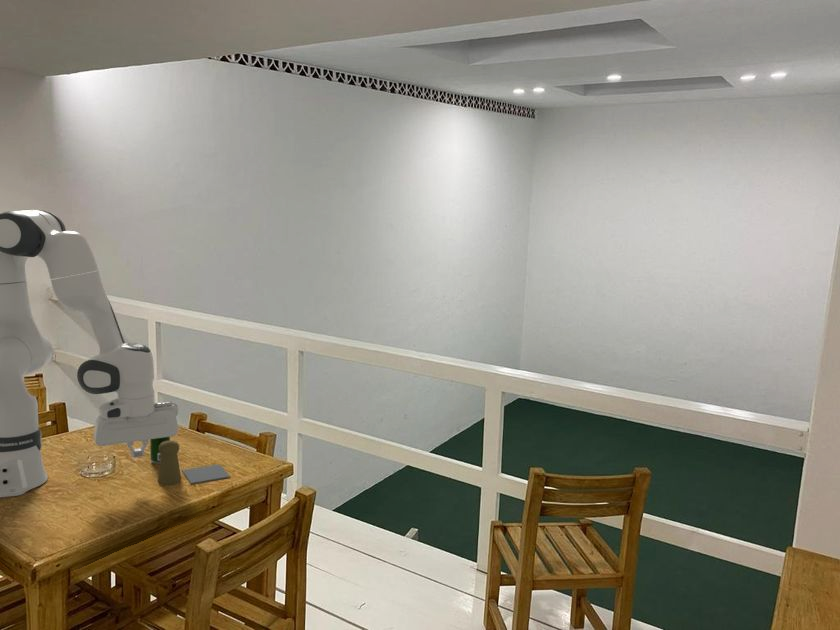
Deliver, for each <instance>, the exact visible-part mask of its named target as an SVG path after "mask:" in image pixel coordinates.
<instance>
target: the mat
mask: <svg viewBox="0 0 840 630" xmlns="http://www.w3.org/2000/svg"><path fill="white" fill-rule="evenodd" d="M181 472H182V473H183V475H184V476H185V478H186V479H187V481H188V482H189V483H190V485H196V484H200V483H205V482H212V481H219V480H223V479H229V478H231V476H230V474H229V473H228V472H227V471H226V470H225V468H224V467H223V466H222V465H221V464H219V463H218V464H212V465H207V466H206V465H205V466H201V467H193V468H187V469H182V470H181Z"/></svg>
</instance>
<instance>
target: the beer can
mask: <svg viewBox="0 0 840 630" xmlns="http://www.w3.org/2000/svg"><path fill="white" fill-rule="evenodd" d="M164 441H171V437H164V438H157V439H149V443H150V445H149V447H150V461H151V463H152V464H155V465H156V464H157V465H160V458H161V454H160V453H159V445H160V444H161V443H162V442H164Z"/></svg>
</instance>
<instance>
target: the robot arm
mask: <svg viewBox="0 0 840 630" xmlns="http://www.w3.org/2000/svg"><path fill="white" fill-rule="evenodd" d="M35 257H39V258H40V259H42V261H43V262H44V263H45V265H46V268H47V270H48V274H49V279H50V281H51V286H52V289H53V292H54V294H55V297H56V299H57V301H58V302H59V303H60V305H62V306H63V307H64V308H66V309H67V310H71V311H73V312H76V313H78V314H80V315H82V316H84V317H85V318H86V319H87V320H88V322H89V323H90V326H91V328H92V331H93V334H94V336H95V339H96V342H97V345H98V349H99V354H97V355H95V356H92V357H90V358H88V359H86V360H85V361H84V362H82V363H81V364H80V366H79V367H78V369H77V371H76V377H77V382H78V384H79V386H80V387H81V389H82V390H84V391H85V392H86V393H89V394H91V395H102V394H108V393H113V392H114V393H117V398H115V399H113V400H110V401H107V402H104V403H102V404H100V405H99V406H98V414H99V415H98V416H97V417H96V420H95V424H94V428H93V429H94V430H93V441H94V443H95V445H97V446H98V447H105V446H111V445H119V444H120V445H121V444H126V446H127V448H128V449H129V451H130V456H131V458H132V459H133V458H141V457H145V451H146V448H147V446H148V445H149V441H150V439H157V438H164V437H170V438H171V437H175V436H177V434H178V433H179V427H178V426H179V424H178V419H177V418H178V415H179V407H178V405H177V404H176V403H174V402H172V401H167V402H156V403H155V400H156V399H155V397H156V396H155V390H154V389H155V388H154V379H155V367H154V366H155V365H154V364H155V363H154V357H153V353H152V351H151V349H150V348H149V347H148V346H146V345H144V344H142V343H137V342H125V338H124V337H123V334H122V331H121V328H120V326H119V323H118V321H117V317H116V314H115V312H114V308H113V306H112V304H111V302H110V300H109V298H108V295H107V294H106V291H105V289H104V285H103V282H102V279H101V275H100V271H99V269H98V264H97V261H96V258H95V256H94V253H93V250H92V248H91V247H90V244H89V242H88V240H87V238H86V237H85V236H84V235H83V234H81V233H79V232H78V231H72V230H67V229H66V226H65V224H64V221H62V219H61V218H60V217H59V216H57V215H56V214H55V213H53V212H49V211H46V210H37V209H22V210H21V209H20V210H7V211H4V212H1V213H0V498H7V497H15V496H18V497H19V496H21V495H23V494H26V492H28V491H30V490H32V489H35V488H37V487H39V486H41V485H43V484H44V483H45V482H47V481H48V480H49V479H48V478H49V476H48V475H47V471H46V469H45V465H44V462H43V457H42V452H41V451H42V443H43V441H42V439H43V438H42V431H41V428H40V426H39V407H38V400H37V398H36V397H35V396H34V395H33V394H31V393H30V392H29V391H28V389H27V386H26V384H25V376H27V375H31V374H32V373H35V372H38V371H39V370H41V369H42V368H43V367H45V365H47V364H48V363H49V362H50V360H52V357H53V353H54V351H53V345H52V342H51V340H50V339H49V338H48V337H47V336H45V335H44V334H43V333H42V332H41V331H40V330H39V328H38V325H37V323H36V320H35V319H34V316H33V313H32V310H31V306H30V299H29V298H30V297H29V291H28V284H27V282H28V281H27V275H26V262H27V260H28V258H35ZM140 441H141V443H142V444H141V446H140V448H135V449H134V448H133V447H134V442H140Z"/></svg>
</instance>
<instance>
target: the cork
mask: <svg viewBox="0 0 840 630" xmlns="http://www.w3.org/2000/svg"><path fill="white" fill-rule="evenodd" d="M179 451H180V444H179V443H178V441H176V440H170V441H164V442H162V443H161V444H160V445H159V453H160V454H161V458H160V464H159V468H158V475H157V483H159V484H158V485H161V486H174V485H176V484H179V483H181V482H182V476H181V470H180V469H181V468H180V465H179V458H178V457H179V456H178V453H179Z"/></svg>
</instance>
